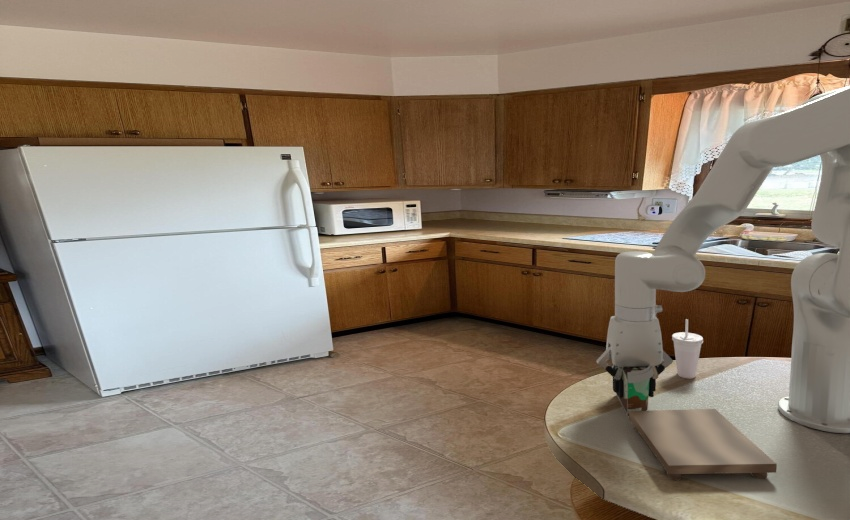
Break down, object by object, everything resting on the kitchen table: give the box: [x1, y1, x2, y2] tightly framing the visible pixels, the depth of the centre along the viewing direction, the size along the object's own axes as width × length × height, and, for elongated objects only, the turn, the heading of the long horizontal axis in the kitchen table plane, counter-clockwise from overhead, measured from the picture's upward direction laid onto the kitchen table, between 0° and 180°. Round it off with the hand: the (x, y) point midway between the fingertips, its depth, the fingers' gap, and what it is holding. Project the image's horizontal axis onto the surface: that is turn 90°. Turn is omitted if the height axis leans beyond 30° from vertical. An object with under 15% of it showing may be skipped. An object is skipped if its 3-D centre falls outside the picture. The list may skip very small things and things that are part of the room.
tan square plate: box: [628, 408, 778, 481], centre depth 78 cm, size 16×17×3 cm
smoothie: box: [671, 318, 704, 379], centre depth 105 cm, size 6×6×14 cm
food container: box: [616, 364, 653, 417], centre depth 94 cm, size 12×6×10 cm, turn 170°
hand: (633, 393), depth 94 cm, fingers closed on food container, 5 cm apart
